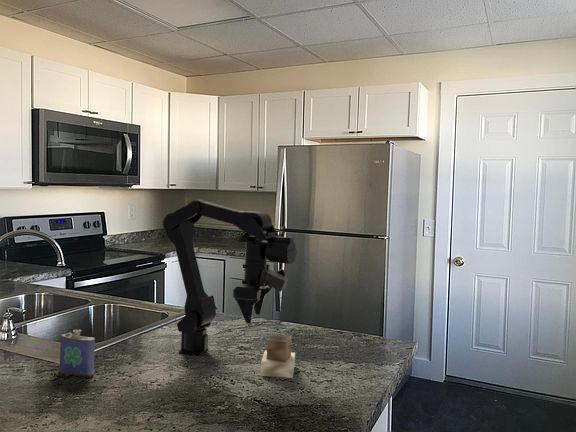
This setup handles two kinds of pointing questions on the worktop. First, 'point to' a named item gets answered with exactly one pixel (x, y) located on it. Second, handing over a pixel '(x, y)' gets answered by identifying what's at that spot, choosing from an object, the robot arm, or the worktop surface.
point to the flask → (77, 354)
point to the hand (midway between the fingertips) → (253, 318)
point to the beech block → (278, 367)
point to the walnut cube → (279, 347)
